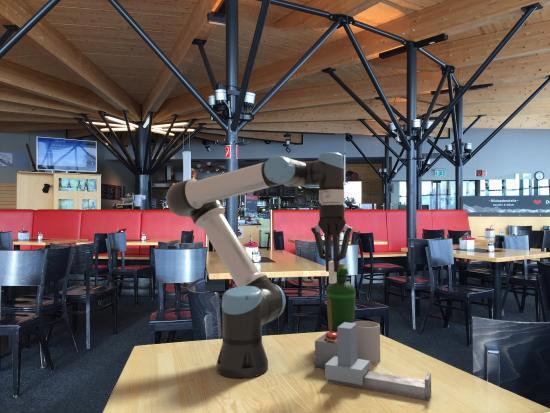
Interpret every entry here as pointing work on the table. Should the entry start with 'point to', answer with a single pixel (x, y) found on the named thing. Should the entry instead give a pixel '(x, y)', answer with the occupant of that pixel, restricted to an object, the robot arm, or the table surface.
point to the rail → (393, 385)
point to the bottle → (340, 300)
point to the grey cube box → (324, 351)
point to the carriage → (347, 357)
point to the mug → (368, 341)
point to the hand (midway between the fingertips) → (332, 282)
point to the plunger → (331, 336)
